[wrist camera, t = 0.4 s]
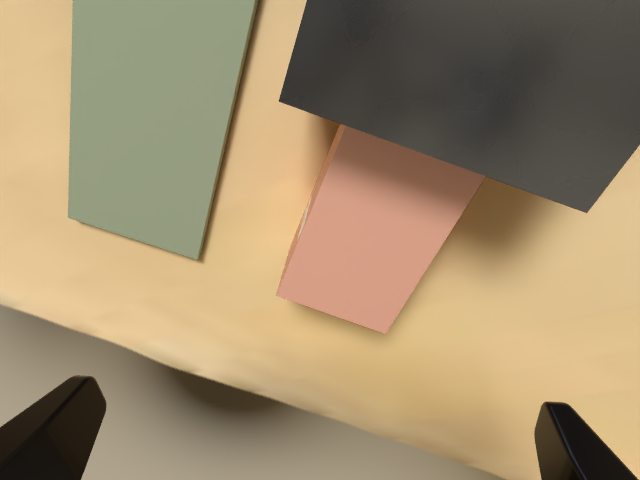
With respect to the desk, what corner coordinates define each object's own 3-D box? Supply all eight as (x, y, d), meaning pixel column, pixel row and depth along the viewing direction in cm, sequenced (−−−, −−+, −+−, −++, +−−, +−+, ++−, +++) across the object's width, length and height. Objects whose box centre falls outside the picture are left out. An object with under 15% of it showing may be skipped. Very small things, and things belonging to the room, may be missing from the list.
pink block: (540, 9, 16) (580, 27, 13) (385, 277, 23) (386, 334, 20) (408, -50, 16) (415, -46, 13) (290, 243, 23) (275, 295, 20)
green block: (272, -63, 16) (268, -63, 15) (200, 252, 23) (197, 260, 23) (86, -136, 15) (75, -139, 15) (74, 211, 23) (68, 217, 22)
